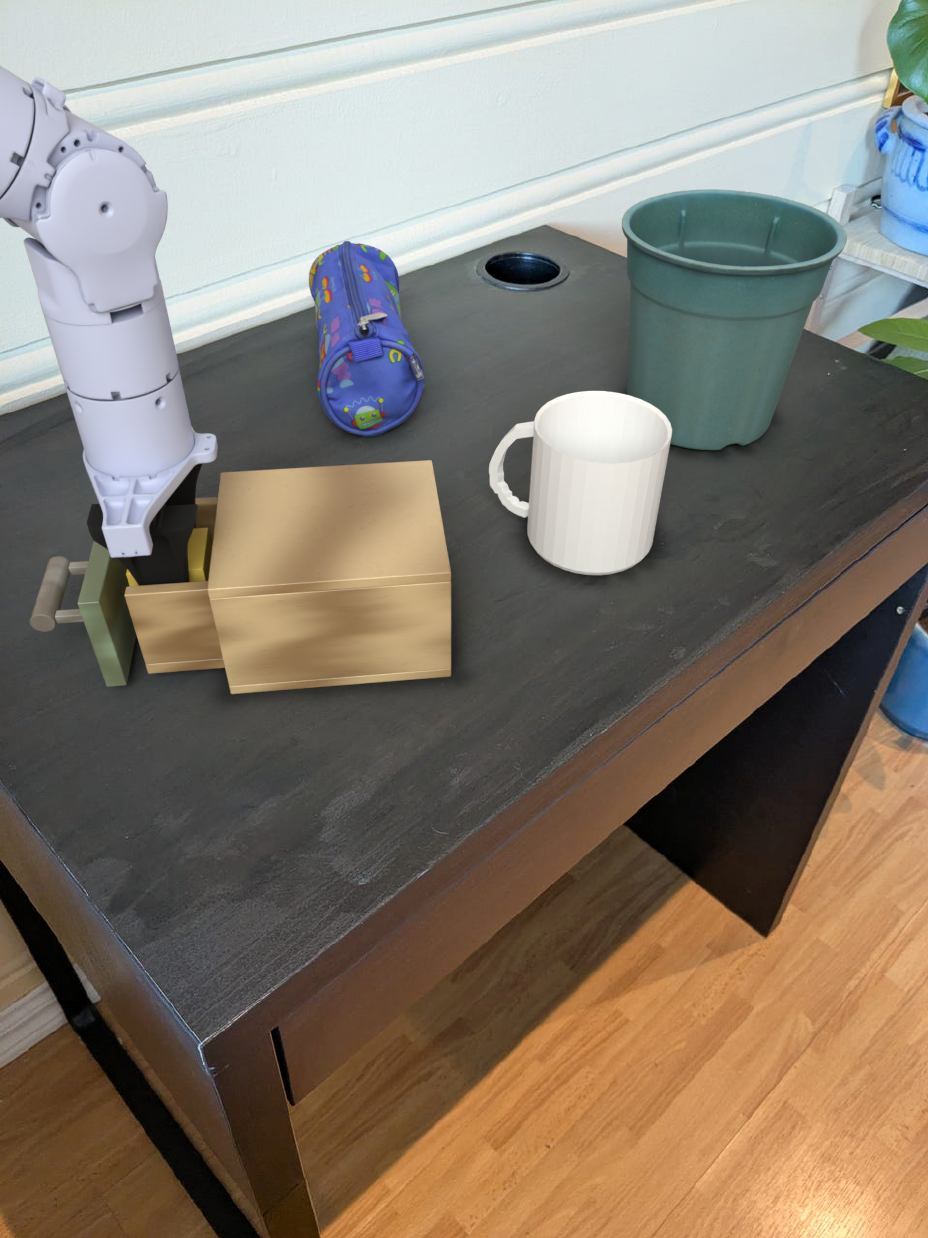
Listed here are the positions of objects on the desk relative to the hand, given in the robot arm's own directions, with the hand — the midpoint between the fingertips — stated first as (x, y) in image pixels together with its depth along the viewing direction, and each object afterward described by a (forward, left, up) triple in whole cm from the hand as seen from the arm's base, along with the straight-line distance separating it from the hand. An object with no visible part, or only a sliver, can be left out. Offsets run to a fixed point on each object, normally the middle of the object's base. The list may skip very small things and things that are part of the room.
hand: (173, 575), depth 59 cm
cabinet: (+10, 0, -5) cm, 11 cm away
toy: (0, 0, -1) cm, 1 cm away
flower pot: (+41, +23, -5) cm, 47 cm away
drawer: (0, 0, -4) cm, 4 cm away
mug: (+27, +8, -5) cm, 28 cm away
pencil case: (+13, +32, -5) cm, 35 cm away
